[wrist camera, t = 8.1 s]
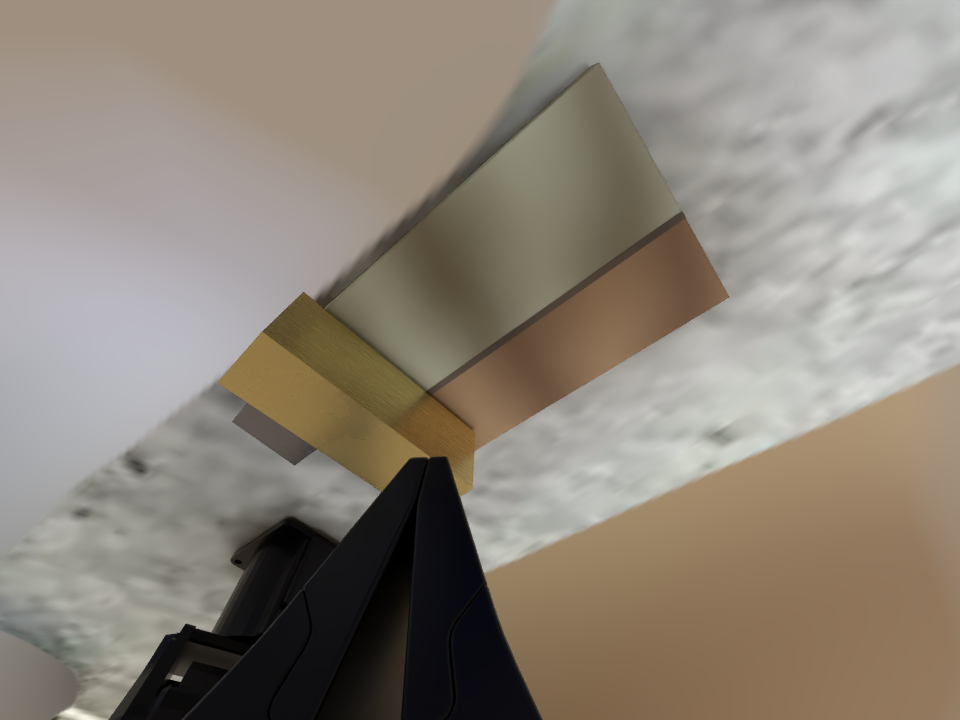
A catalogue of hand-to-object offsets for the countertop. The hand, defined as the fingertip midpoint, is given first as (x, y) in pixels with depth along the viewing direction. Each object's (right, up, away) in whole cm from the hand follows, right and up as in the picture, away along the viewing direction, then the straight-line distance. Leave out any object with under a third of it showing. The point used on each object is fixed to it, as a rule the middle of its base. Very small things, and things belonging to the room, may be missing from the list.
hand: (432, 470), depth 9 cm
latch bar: (-4, +1, +10) cm, 10 cm away
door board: (+1, +4, +10) cm, 10 cm away
